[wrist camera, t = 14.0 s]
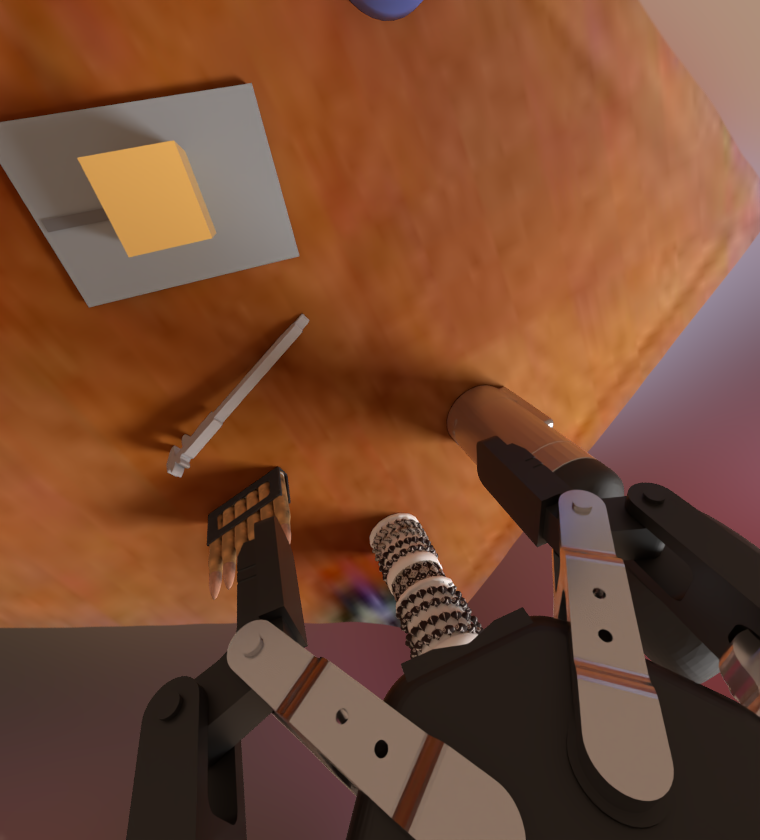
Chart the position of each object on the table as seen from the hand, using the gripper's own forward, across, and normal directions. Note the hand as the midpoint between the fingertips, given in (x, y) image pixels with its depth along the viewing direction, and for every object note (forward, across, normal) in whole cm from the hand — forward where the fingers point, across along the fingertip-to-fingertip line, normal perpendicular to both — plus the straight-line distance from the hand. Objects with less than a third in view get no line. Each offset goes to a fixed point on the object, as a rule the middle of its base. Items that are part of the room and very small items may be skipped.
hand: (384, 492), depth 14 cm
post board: (+28, +7, -11) cm, 31 cm away
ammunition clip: (+28, +12, +20) cm, 37 cm away
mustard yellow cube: (+27, +7, -11) cm, 30 cm away
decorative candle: (+28, -5, +37) cm, 47 cm away
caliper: (+29, +8, +6) cm, 30 cm away
